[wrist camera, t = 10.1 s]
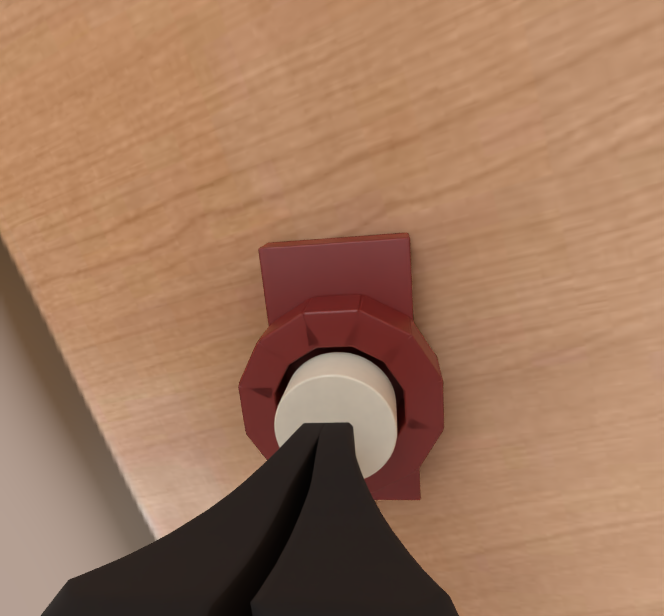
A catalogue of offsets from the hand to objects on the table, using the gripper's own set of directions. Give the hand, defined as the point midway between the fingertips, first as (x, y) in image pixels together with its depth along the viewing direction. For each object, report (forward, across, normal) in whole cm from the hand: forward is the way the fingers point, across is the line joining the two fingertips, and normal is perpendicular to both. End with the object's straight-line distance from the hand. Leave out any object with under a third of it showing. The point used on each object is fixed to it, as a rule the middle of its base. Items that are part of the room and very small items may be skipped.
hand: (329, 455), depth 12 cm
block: (+6, 0, 0) cm, 6 cm away
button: (+3, 0, 0) cm, 3 cm away
